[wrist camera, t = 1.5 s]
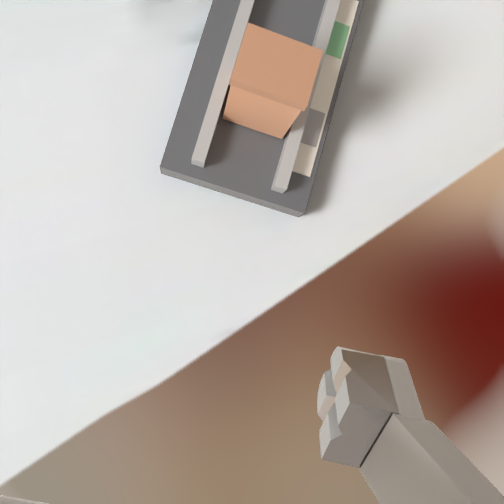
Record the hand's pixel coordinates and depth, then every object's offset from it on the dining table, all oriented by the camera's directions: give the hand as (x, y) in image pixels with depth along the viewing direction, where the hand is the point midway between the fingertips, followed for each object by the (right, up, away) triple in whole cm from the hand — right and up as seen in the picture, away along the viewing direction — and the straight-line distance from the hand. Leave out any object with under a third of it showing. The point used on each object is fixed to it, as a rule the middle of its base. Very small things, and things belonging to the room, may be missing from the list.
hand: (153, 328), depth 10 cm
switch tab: (+3, +13, +26) cm, 29 cm away
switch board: (+3, +17, +28) cm, 33 cm away
